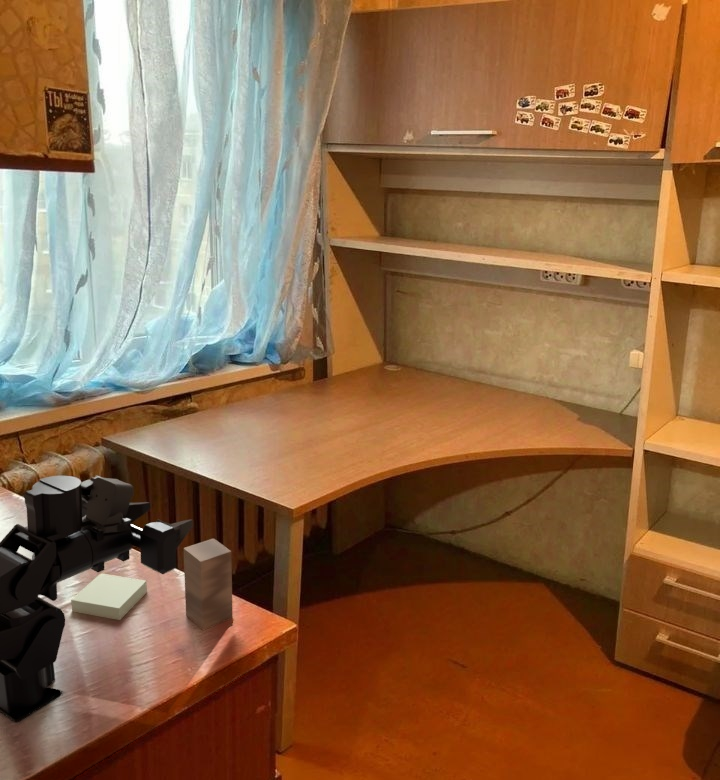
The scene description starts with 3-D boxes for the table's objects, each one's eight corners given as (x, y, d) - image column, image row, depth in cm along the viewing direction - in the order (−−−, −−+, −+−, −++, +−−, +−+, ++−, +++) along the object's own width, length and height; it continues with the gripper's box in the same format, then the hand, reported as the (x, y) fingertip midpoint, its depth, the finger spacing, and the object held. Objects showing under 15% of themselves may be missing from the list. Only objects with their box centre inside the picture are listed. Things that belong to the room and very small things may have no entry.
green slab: (119, 620, 114) (119, 608, 113) (72, 611, 115) (71, 599, 115) (147, 591, 121) (146, 580, 120) (101, 584, 123) (100, 573, 122)
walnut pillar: (203, 638, 112) (200, 561, 109) (186, 622, 116) (183, 548, 112) (232, 625, 115) (231, 551, 112) (215, 611, 119) (213, 538, 115)
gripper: (124, 512, 94) (216, 478, 107) (34, 474, 104) (128, 447, 117) (126, 594, 97) (215, 552, 109) (38, 549, 107) (129, 515, 119)
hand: (170, 513), depth 114 cm, fingers open, 9 cm apart
